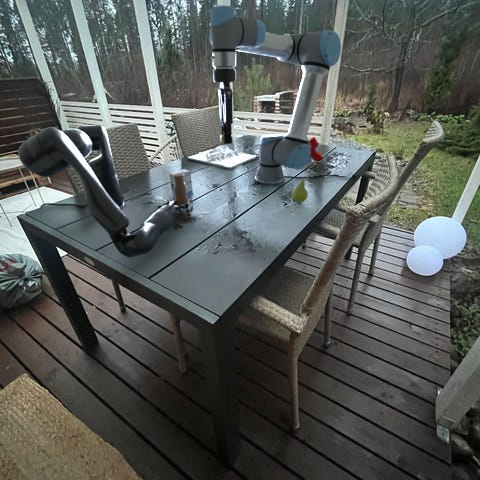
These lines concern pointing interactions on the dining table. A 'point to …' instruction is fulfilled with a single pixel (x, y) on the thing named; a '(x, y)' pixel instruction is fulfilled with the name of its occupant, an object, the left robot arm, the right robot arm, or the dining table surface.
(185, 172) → the ink box
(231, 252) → the dining table surface
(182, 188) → the bottle
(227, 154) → the relief map
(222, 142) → the cap
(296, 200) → the fruit
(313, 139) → the toy gun
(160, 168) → the dining table surface
